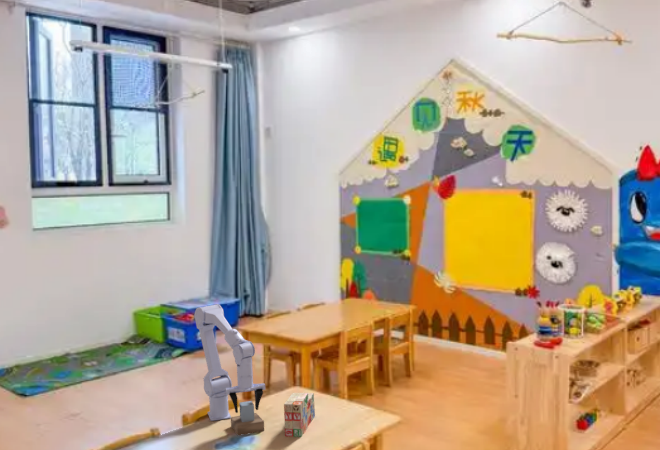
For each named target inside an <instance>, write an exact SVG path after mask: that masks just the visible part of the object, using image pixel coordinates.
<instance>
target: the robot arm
mask: <svg viewBox="0 0 660 450" xmlns="http://www.w3.org/2000/svg"><path fill="white" fill-rule="evenodd" d="M193 316H194V320H195V326H196V329H198V330H199V335H200V341H201V344H202V348H203V352H204V356H205V357H204V358H205V361H206V367H207V373H206V374H205V375H204V377H203V378H202V379H203V389H204V392H205V394H206V395H207V396H208V400H209V411H207V415H208V418H209V420H210V421H219V420H226V419H231V417H232V416H231V413H230V412H229V401H228V400H229V397H230V399H231V401H232V404H233V408H234V412H235V413H236V414H238V413H239V410H238V407H239V406H238V396H237V394H239V393H240V394H241V393H247V392H254V404H255V405H254V410H256V411H258V410H259V405H260V403H261V402H260V401H261V399H262V396H263V394H264V390H265V391H266V384H265V383H263V382H262V383H254V377H253V376H254V373H253V357H254V356H255V355H256V348H255V346H254V343H253V342H252V341H250V340H248V339H247V340H246V339H245V337H243V335H242V334H241V333H240V332H239V330H237V329H236V328H232V326H231V324H230V323H229V322H228V320H227V319H226V317H225V313H224V308H223V307H222V306H221V304H219V303H216V304H211V305H207V306H205V305H204V306H201V307H197V308H196V309H195V311H194V315H193ZM215 326H216V327H217V328H218V330H220V331H221V332H222V333H223V335H224V340H225V342H226V343H227V344H228V345H229V347H230V348H231V349H232V355H233V357H234V362H235V364H236V377H237V385H235V386H233V383H232V382H233V381H232V379H231V377H230V376H229V372H228V371H227V370H225V369H224V368H222V364H221V360H220V355H219V351H218V347H217V343H216V338H215V334H214V333H215V332H214V329H215Z"/></svg>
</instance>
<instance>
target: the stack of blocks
mask: <svg viewBox="0 0 660 450" xmlns="http://www.w3.org/2000/svg"><path fill="white" fill-rule="evenodd" d="M314 394H315V393H313V392H292V393H291V394H290V396H289V397H288V398H287V400H286V401H285V402H284V403H283V411H284V412H283V413H284V416H283V417H284V435H285V437H295V438H296V437H298V438H302V437H303V435H305V433H306V431H307V429H308V428H309V426H310V424H311V423H312V421H313V419H314V418H315V415H316V414H315V413H316V412H315V411H316V409H315V397H314V396H315V395H314Z"/></svg>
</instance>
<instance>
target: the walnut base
mask: <svg viewBox="0 0 660 450" xmlns="http://www.w3.org/2000/svg"><path fill="white" fill-rule="evenodd" d="M230 427H231V428H232V430H233V429H234V430H233V431H234V433H237V434H238V435H239V436H242V435H241V434H244V435H248V433H250V434H254V432H255V433H260V432H264V431H265V421H264V420H263V419H262V417H261V416H260V415H259V414H258V413H257V412H254V421H248V422H242V421H241V419H240V415H236V416H231V418H230ZM237 434H236V435H237ZM238 435H237V436H238Z"/></svg>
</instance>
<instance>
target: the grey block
mask: <svg viewBox="0 0 660 450" xmlns="http://www.w3.org/2000/svg"><path fill="white" fill-rule="evenodd" d="M254 404H255V403H253V400H249V401H242V402H239V416H240V419H241V421H242V422H248V421H254V413H255V405H254Z"/></svg>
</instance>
